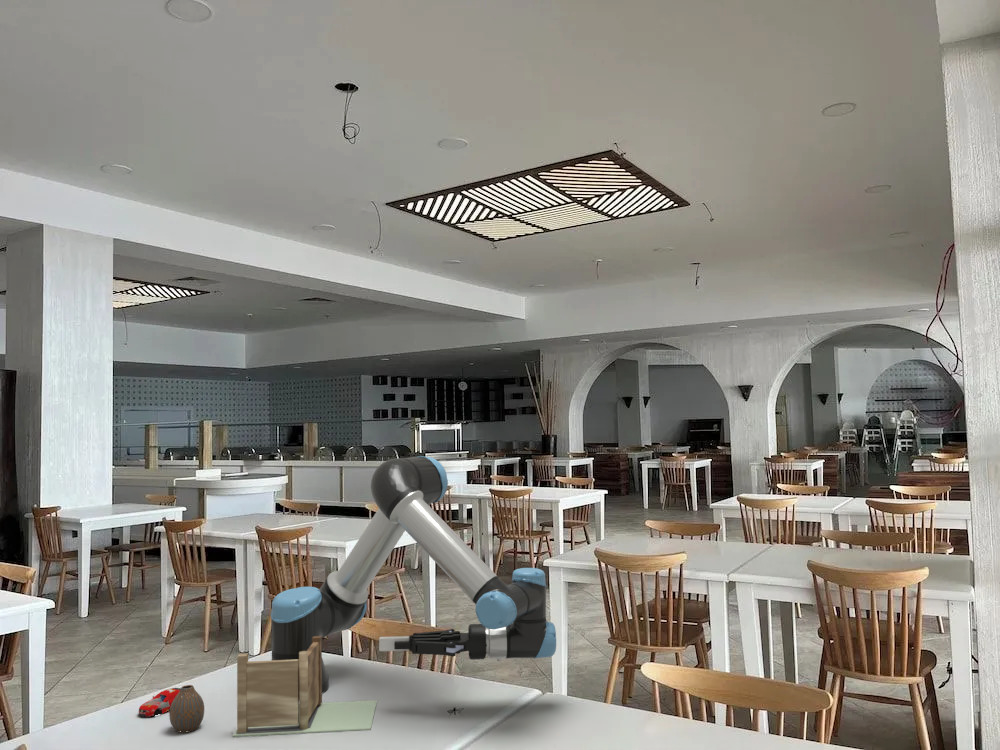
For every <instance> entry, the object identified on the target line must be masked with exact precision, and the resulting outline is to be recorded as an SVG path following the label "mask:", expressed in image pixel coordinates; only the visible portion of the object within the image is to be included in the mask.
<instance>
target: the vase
mask: <svg viewBox="0 0 1000 750" xmlns="http://www.w3.org/2000/svg"><path fill="white" fill-rule="evenodd" d="M180 688H181V689H180V691H179V693H178V694H177V696H176V697H175V698H174V700H173V702H172V704H171V707H170V711H168V712H169V713H168V716H169V722H170V725H171V727H172V728H173V729H174V730H175V731H176V732H178V731H181V732H180V733H187V732H186V731H190V732H193V731H195V730H196V729H198V728H199V726H200V725H201V724H202V722H203V719H204V716H205V704H204V700H203V697H202V696H201V695H200V693H198V691H196V689H195V687H194V685H193V684H185V685H182V686H181V687H180ZM194 729H195V730H194ZM192 730H193V731H192Z"/></svg>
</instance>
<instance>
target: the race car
mask: <svg viewBox="0 0 1000 750" xmlns="http://www.w3.org/2000/svg"><path fill="white" fill-rule="evenodd" d="M180 689H181V687H171V688H168V689H165V690H162V691H160V692H158V693H157V694H156V695H155V696H152V698H151V699H150V700H148V701H145V702H144V703H142V704H141V705H140V706H139V708H138V715H139V716H140V717H144V718H149V717H150V718H151V716H155V715H158V714H161V713H163V714H165V713H164V712H166V713H168V712H170V711H169V710H170V707H171V704H172V702H173V700H174V698H175V697H176V696H177V694H178V693H179V691H180ZM167 711H168V712H167ZM161 715H162V714H161Z"/></svg>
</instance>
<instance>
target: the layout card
mask: <svg viewBox="0 0 1000 750" xmlns="http://www.w3.org/2000/svg"><path fill="white" fill-rule="evenodd" d="M377 703H378V700H376V699H375V700H373V699H372V700H360V701H359V700H357V701H355V700H354V701H337V702H336V701H335V702H322V703H321V705H317V706H316V708H315V710H314V711H313V713H312V715H311V716H310V718H309V720H308V729H306V730H303V729H299V724H298V725H283V726H264V727H248V730H247V732H244V733H237V729H236V730H235V731H234V733H233V734H232V738H239V737H241V738H242V736H244V737H259V736H261V737H262V735H263V736H277V735H278V736H281V735H297V734H298V735H299V734H314V733H315V734H316V733H318V734H319V733H334V732H335V733H336V732H339V733H340V732H353V731H355V732H356V731H370V730H372V724H373V721H374V716H375V711H376V708H375V707H377Z"/></svg>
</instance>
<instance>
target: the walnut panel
mask: <svg viewBox="0 0 1000 750" xmlns="http://www.w3.org/2000/svg"><path fill="white" fill-rule="evenodd" d="M322 638H323V637H322V636H313V638H312V645H311V646H310V647H309V648H308V650H307V651H308V720H309V718H310V716H311V715H312V713H313V711H314V710H315V708H316V706H317V705H321V703H323V693H322V659H323V657H322V656H323V654H322V653H323V652H322V650H323V649H322V644H323V643H322V640H323V639H322Z"/></svg>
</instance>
